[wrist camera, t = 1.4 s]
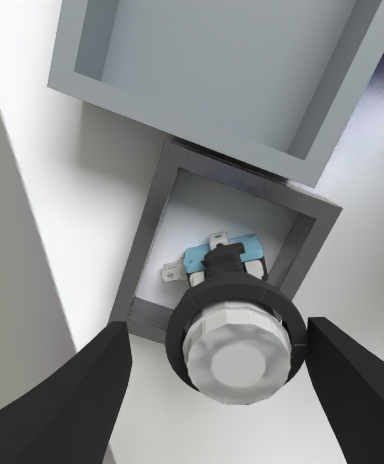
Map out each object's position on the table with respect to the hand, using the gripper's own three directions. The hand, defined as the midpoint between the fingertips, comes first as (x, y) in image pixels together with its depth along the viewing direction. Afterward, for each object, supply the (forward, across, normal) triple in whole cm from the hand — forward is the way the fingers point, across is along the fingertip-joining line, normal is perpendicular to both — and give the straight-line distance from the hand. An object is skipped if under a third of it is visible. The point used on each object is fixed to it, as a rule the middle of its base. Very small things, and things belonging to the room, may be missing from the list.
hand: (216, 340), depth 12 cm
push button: (+9, 0, 0) cm, 9 cm away
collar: (+8, 0, 0) cm, 8 cm away
